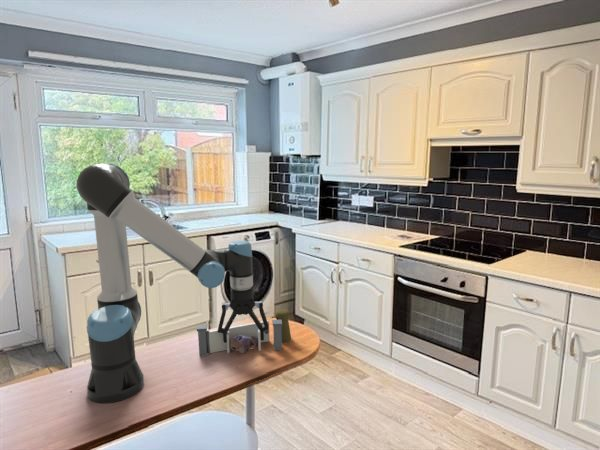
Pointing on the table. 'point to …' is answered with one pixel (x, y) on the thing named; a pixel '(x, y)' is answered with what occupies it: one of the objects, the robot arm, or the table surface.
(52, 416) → the table surface
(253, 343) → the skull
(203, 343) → the hinge post
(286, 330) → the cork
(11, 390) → the table surface
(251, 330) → the gate
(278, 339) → the post
